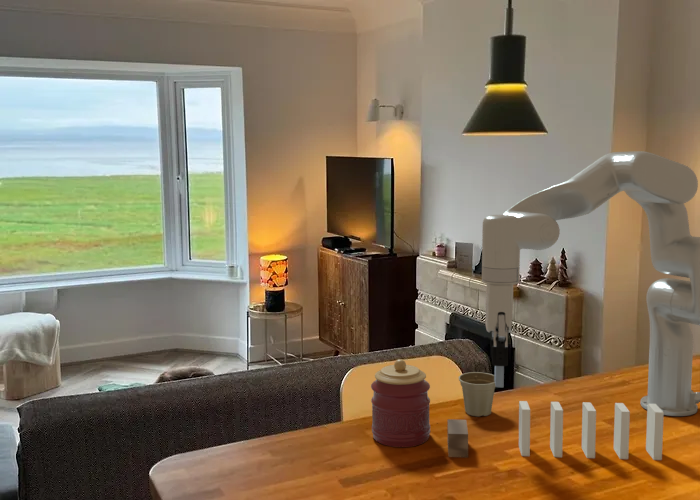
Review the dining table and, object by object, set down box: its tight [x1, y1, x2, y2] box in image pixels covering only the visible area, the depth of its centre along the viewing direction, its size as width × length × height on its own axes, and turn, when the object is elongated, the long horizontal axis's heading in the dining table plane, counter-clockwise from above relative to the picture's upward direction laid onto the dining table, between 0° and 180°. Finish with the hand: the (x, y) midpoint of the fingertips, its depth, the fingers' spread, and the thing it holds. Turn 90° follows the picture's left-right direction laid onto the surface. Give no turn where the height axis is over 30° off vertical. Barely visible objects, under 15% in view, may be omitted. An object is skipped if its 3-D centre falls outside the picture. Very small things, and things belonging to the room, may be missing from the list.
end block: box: [447, 418, 469, 458], centre depth 146 cm, size 4×8×5 cm, turn 173°
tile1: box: [645, 404, 665, 461], centre depth 141 cm, size 2×5×10 cm, turn 173°
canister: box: [370, 358, 431, 448], centre depth 152 cm, size 13×13×18 cm
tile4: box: [549, 401, 564, 458], centre depth 143 cm, size 2×5×10 cm, turn 174°
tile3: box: [581, 401, 597, 459], centre depth 142 cm, size 2×5×10 cm, turn 173°
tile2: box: [613, 402, 631, 460], centre depth 142 cm, size 2×5×10 cm, turn 174°
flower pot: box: [458, 371, 497, 417], centre depth 167 cm, size 9×9×9 cm
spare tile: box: [493, 335, 505, 388], centre depth 144 cm, size 2×5×10 cm, turn 171°
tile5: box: [518, 400, 531, 457], centre depth 144 cm, size 2×5×10 cm, turn 173°
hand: (499, 360), depth 144 cm, fingers closed on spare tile, 4 cm apart
